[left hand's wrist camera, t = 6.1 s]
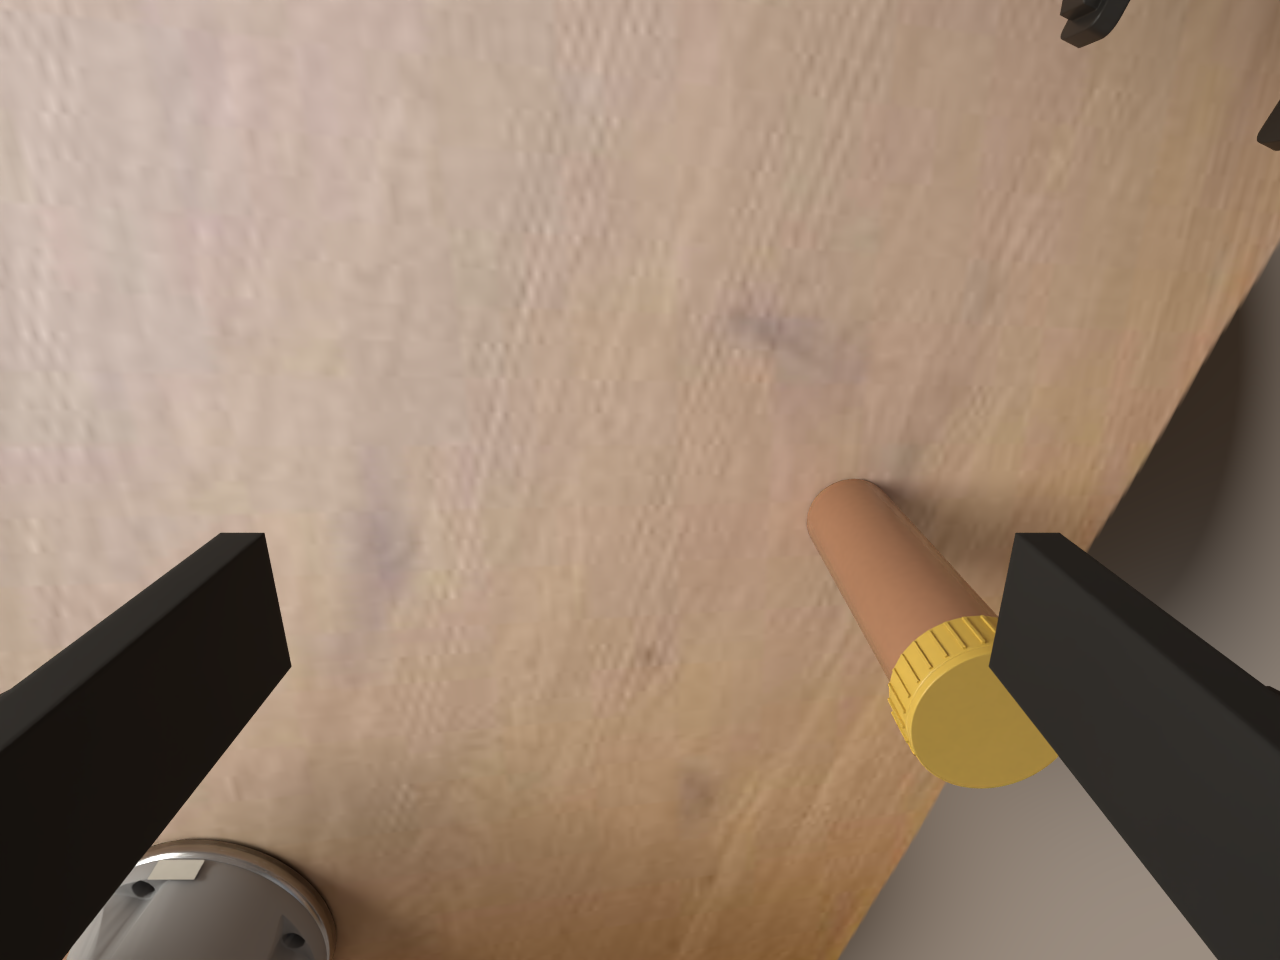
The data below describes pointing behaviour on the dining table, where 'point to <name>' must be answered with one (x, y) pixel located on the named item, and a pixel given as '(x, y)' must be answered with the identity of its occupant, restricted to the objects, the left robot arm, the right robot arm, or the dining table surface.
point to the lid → (963, 709)
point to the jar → (886, 568)
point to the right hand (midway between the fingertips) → (1185, 93)
